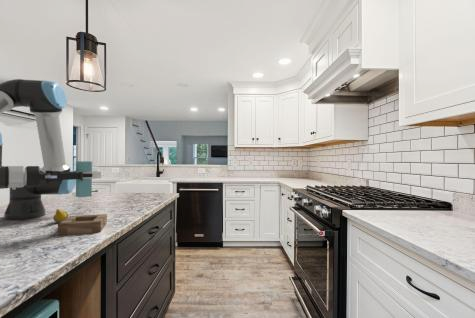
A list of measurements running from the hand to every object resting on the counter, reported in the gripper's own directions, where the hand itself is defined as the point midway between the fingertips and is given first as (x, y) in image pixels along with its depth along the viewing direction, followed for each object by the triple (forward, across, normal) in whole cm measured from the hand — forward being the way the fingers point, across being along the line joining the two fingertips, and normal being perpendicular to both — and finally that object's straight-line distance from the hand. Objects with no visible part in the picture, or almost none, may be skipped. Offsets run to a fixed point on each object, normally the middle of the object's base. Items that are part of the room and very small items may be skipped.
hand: (98, 174), depth 103 cm
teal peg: (-5, 0, -8) cm, 10 cm away
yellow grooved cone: (-10, -18, -22) cm, 30 cm away
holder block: (-5, 0, -22) cm, 22 cm away
